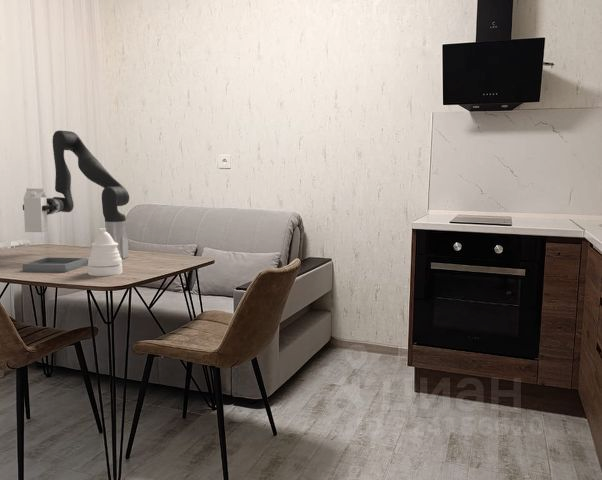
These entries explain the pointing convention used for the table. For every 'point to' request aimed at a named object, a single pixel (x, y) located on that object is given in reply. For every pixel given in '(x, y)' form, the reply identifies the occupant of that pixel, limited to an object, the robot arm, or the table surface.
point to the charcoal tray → (54, 264)
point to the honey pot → (104, 256)
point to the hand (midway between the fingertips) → (33, 208)
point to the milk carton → (35, 210)
